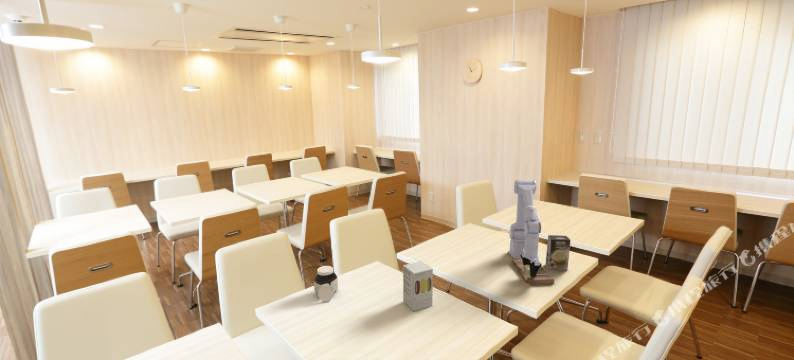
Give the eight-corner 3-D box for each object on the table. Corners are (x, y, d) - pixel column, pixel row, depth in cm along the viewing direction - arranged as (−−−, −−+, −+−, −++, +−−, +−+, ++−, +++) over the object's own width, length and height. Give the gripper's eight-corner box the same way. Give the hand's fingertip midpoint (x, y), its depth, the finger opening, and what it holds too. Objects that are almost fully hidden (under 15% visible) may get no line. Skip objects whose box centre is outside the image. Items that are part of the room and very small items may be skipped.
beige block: (521, 275, 180) (522, 265, 179) (537, 275, 180) (538, 264, 179) (526, 280, 175) (526, 269, 174) (542, 280, 175) (542, 269, 174)
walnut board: (511, 262, 196) (511, 258, 196) (531, 261, 197) (532, 257, 196) (530, 285, 173) (530, 280, 172) (553, 284, 173) (554, 278, 173)
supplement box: (413, 312, 153) (413, 273, 150) (402, 301, 161) (401, 264, 158) (433, 305, 158) (433, 268, 154) (421, 295, 166) (421, 260, 162)
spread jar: (331, 286, 176) (329, 262, 173) (345, 294, 168) (344, 270, 165) (308, 295, 168) (306, 271, 165) (322, 305, 160) (321, 280, 157)
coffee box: (548, 270, 187) (551, 239, 184) (545, 264, 193) (547, 234, 190) (568, 270, 186) (570, 239, 183) (563, 265, 192) (566, 235, 189)
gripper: (516, 240, 181) (515, 266, 184) (529, 252, 167) (527, 281, 170) (531, 239, 181) (529, 266, 184) (545, 252, 167) (543, 280, 170)
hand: (529, 273), depth 177 cm, fingers open, 7 cm apart
